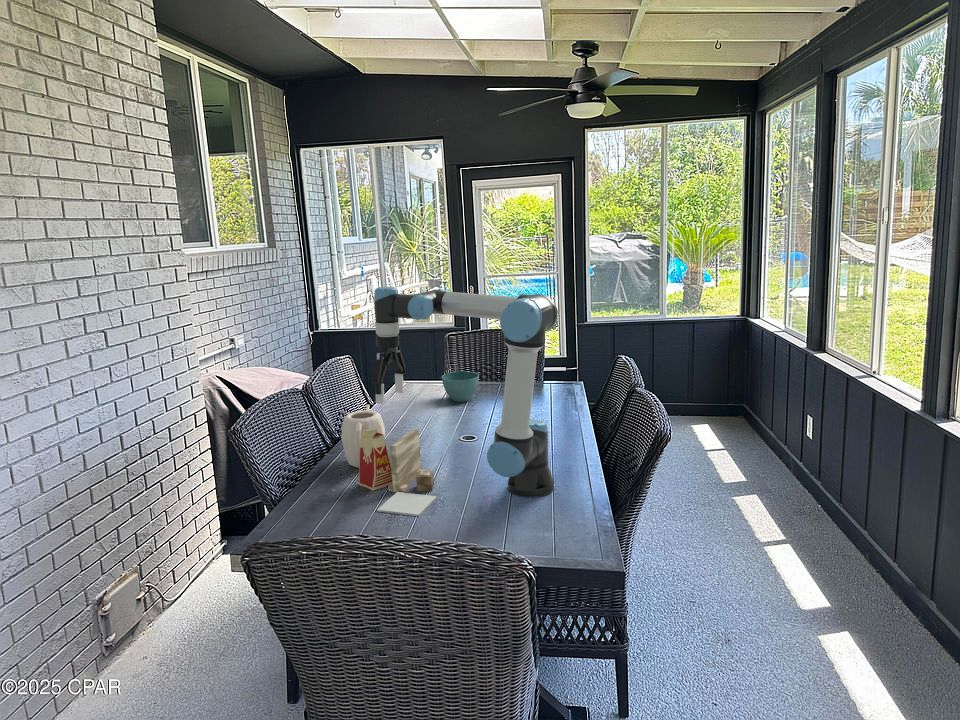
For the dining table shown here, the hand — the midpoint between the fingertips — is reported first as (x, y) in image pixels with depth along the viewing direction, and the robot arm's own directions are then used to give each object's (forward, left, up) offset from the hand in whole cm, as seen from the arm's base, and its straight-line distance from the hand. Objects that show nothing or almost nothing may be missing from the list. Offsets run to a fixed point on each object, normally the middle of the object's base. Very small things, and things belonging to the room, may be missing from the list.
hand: (390, 398), depth 222 cm
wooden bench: (-4, -2, -30) cm, 30 cm away
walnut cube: (-12, +1, -30) cm, 32 cm away
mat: (-12, +15, -30) cm, 35 cm away
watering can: (+20, -16, -30) cm, 40 cm away
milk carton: (+6, +2, -30) cm, 31 cm away
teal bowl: (+16, -106, -30) cm, 111 cm away
